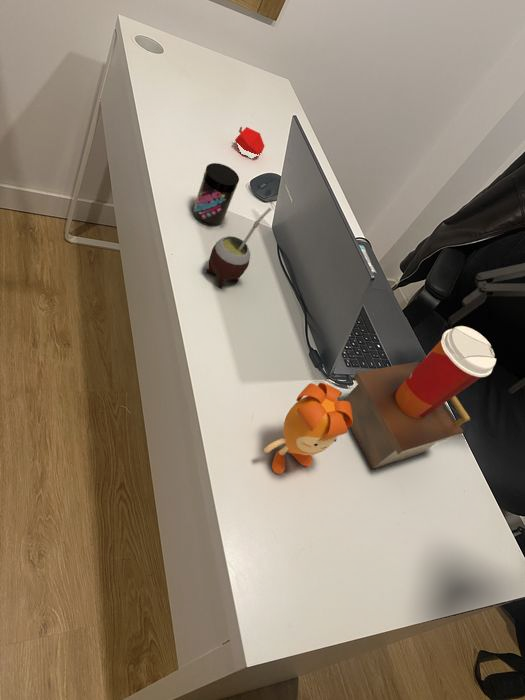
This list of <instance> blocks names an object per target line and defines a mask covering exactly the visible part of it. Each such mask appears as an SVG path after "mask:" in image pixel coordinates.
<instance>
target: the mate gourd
mask: <svg viewBox="0 0 525 700" xmlns="http://www.w3.org/2000/svg"><path fill="white" fill-rule="evenodd" d="M271 211H272V208H271V207H268V208H267V209H266V210H265V211H264V212H263V213H262V214H261V215H260V216H259V217H258V219H257V220H255V221H254V223H253V225H252V228H250V231H249V232H248V234H247V235H246V236H245V238H244V240H243V239H242V238H239V237H237V236H233V235H227V236H224V237H221V238H219V240H218V241H217V242H216V243H215V244H214V245H213V247H212V249H211V253H210V256H209V259H208V268H206V272H205V273H206V274H208V275H209V276H213V277H215V278H218V279H219V280H218V284H217V287H218V288H219V289H223V288H224V283H225V281H227V282H231V283H235V284H238V283H239V279H240V278H241V277H242V276H243V274H244V273H245V271H247V269H248V267H249V265H250V260H251V251H250V248H249V245H248V244H247V242H248V241H249V239H250V238H251V236H252V234H253V233H254V231H255V230H256V228H258V227H259V225H260V223H261V221H262V220H263V219H264V218H265V217H266V216H267V215H268V214H269V213H270V212H271Z"/></svg>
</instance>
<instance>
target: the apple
mask: <svg viewBox="0 0 525 700" xmlns="http://www.w3.org/2000/svg"><path fill="white" fill-rule="evenodd" d="M238 133H239V135H238V136H236V138H235V139H234V142H235V141H236V142H237V143H238V144H239V145H240V146H241V147H242V148H243V149H244V150H246V151H249V152H251V153H254V154H257V155H258V154H260V153H261V154H262V153H263V151H264V149H265V146H266V145H265V143H264V141H263V138H262V135H261V133H260V132H259V131H256V130H254V129H252V128H250V127H248V126H246V127H245V128H244V129H243V127H242V126H240V127H239V130H238ZM236 142H235V143H236Z"/></svg>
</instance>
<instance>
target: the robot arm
mask: <svg viewBox="0 0 525 700" xmlns="http://www.w3.org/2000/svg"><path fill="white" fill-rule="evenodd" d="M523 277H525V262H523V263H519V264H518V263H517V264H514V265H513V264H512V265H509V266H505V267H500V268H496V269H491V270H486V271H482V272H481V271H480V272H478V273H477V274H476V275H475V278H474V284H475V285H476V289H474V290H473V291H472V292H470V294H468V295H467V296H465V297H464V298H463V299H462V301H461V306H462V307H461V308H460V309H458V310H456V311H455V312H454V313H453V314H452V315H450V316H449V317H448V319H447V324H448V325H449V326H450V327H452V326H453V325H455V324H456V323H457V322H459V321H461V319H463V318H465V316H467V315H469V314H470V313H472V311H474V310H475V309H477V308H478V307H479V306H481V305H482V304H484V303H485V302H486V300H487V297H525V283H521V282H520V283H518V282H517V283H516V282H515V283H497V282H502V281H506V280H511V279H517V278H523ZM524 386H525V377H523V378H522V379H521V380H519V381H518V382H516V383H515V384H513V385H512V386H511V387H509V388H508V390H507V391H508V393H510V394H511V395H513V394H514V393H515V392H517V391H518V390H520V389H522V388H523V387H524Z"/></svg>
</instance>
